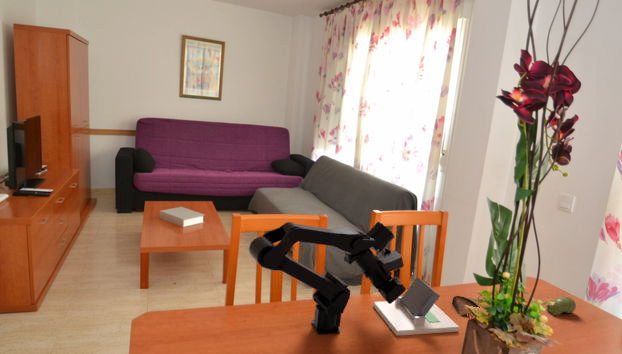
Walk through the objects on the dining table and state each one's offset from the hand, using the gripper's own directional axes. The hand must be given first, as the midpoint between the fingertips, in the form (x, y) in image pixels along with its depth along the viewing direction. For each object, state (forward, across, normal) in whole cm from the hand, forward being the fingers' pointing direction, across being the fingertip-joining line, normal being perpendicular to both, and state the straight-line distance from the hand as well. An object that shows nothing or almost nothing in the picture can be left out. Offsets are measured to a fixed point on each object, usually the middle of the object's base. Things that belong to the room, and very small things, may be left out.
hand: (396, 297), depth 122 cm
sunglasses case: (+28, +1, -18) cm, 33 cm away
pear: (+48, -1, -39) cm, 62 cm away
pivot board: (+10, 0, 0) cm, 10 cm away
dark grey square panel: (+7, 0, 0) cm, 7 cm away
